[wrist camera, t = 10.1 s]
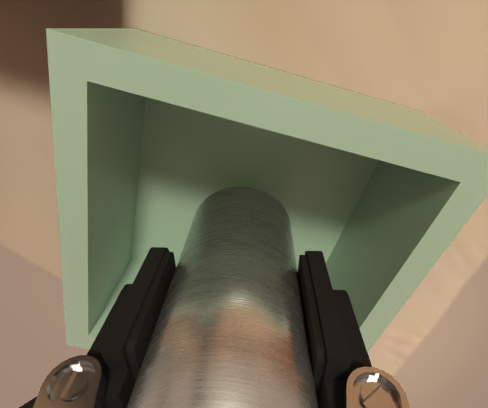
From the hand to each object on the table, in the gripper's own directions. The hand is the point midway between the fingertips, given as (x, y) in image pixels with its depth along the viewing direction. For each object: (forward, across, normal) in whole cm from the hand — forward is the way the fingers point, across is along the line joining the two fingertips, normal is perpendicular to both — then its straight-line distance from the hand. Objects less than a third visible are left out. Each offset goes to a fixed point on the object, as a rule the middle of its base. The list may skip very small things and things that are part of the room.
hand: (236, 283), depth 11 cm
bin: (+6, 0, 0) cm, 6 cm away
